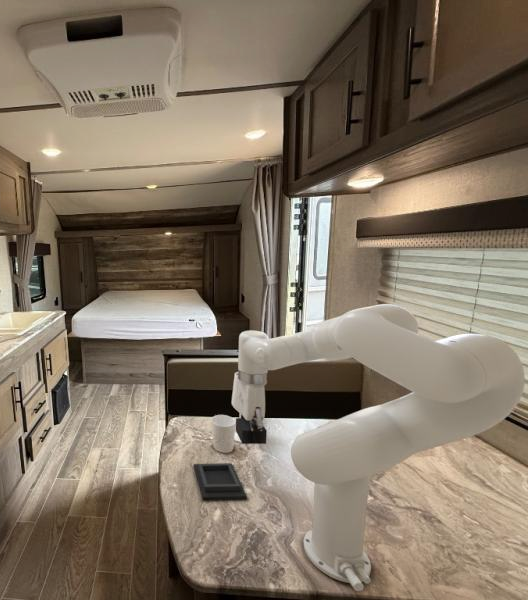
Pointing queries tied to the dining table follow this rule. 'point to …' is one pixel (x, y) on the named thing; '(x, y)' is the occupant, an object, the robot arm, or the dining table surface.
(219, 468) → the base pad
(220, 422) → the white cup
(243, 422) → the black pad
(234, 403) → the champagne flute
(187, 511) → the dining table surface
